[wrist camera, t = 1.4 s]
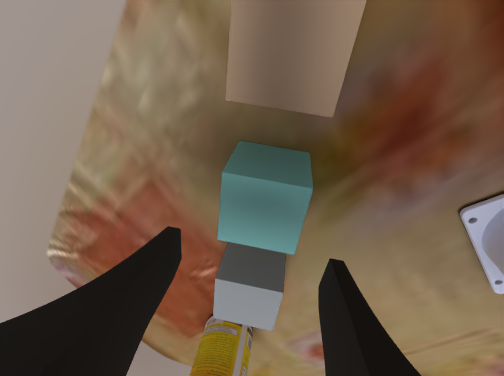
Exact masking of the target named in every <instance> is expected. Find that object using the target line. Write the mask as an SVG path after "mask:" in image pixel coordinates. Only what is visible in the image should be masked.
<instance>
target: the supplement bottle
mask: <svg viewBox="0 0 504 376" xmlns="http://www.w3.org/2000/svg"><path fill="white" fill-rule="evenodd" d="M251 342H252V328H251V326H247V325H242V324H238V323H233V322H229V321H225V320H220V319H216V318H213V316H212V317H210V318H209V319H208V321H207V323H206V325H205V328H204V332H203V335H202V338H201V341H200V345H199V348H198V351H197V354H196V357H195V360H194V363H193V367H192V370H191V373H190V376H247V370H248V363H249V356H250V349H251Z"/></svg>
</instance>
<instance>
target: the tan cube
mask: <svg viewBox="0 0 504 376" xmlns="http://www.w3.org/2000/svg"><path fill="white" fill-rule="evenodd" d="M366 1H367V0H232V3H231V19H230V35H229V51H228V67H227V82H226V98H225V100H227V101H234V102H240V103H246V104H252V105H258V106H264V107H270V108H276V109H283V110H289V111H295V112H301V113H307V114H313V115H319V116H326V117H332V118H333V115H334V111H335V108H336V104H337V101H338V98H339V94H340V91H341V87H342V84H343V80H344V77H345V73H346V70H347V67H348V63H349V60H350V56H351V53H352V49H353V46H354V42H355V39H356V36H357V32H358V29H359V25H360V22H361V18H362V15H363V11H364V8H365V5H366Z"/></svg>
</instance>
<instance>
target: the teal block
mask: <svg viewBox="0 0 504 376" xmlns="http://www.w3.org/2000/svg"><path fill="white" fill-rule="evenodd" d="M312 192H313V179H312V170H311V160H310V153H309V152H303V151H298V150H292V149H286V148H280V147H275V146H269V145H263V144H257V143H251V142H246V141H240V140H239V142H238V144H237V146H236V148H235V149H234V151H233V153H232V155H231V157H230V159H229V160H228V162H227V164H226V166H225V168H224V170H223V171H222V181H221V196H220V211H219V226H218V240H222V241H227V242H232V243H237V244H242V245H247V246H252V247H257V248H262V249H267V250H272V251H277V252H282V253H287V254H292V255H294V253H295V250H296V247H297V243H298V240H299V236H300V233H301V230H302V226H303V223H304V219H305V216H306V212H307V209H308V206H309V202H310V199H311V195H312Z"/></svg>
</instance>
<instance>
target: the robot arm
mask: <svg viewBox="0 0 504 376" xmlns="http://www.w3.org/2000/svg"><path fill="white" fill-rule="evenodd" d="M460 217H461V219H462V221H463V224H464V226H465V228H466V231H467V233H468V235H469V237H470V240H471V242H472V244H473V247H474V249H475V251H476V253H477V256H478V258H479V260H480V263H481V265H482V267H483V269H484V272H485V274H486V276H487V279H488V281H489V283H490V285H491V288H492V289H493V290H494V292H495V293H498V294H502V293H504V194H502V195H499V196H496V197H494V198H491V199H488V200H485V201H482V202H480V203H477V204H474V205H471V206H469V207H466V208H464V209H462V210H461V211H460ZM471 218H473V219H471ZM469 219H471V220H469ZM181 259H182V256H181V230H180V229H179V228H174V227H169V226H168V227H167V228H165V229H164V230H163V231H162V232H160V233H159V234H158V235H157V236H155V237H154V238H153V239H152V240H150V241H149V242H148V243H147V244H145V245H144V246H143V247H141V248H140V249H139V250H137V251H136V252H135V253H133V254H132V255H131V256H129V257H128V258H126V259H125V260H123V261H122V262H121V263H119V264H118V265H116V266H115V267H113V268H112V269H110V270H109V271H107V272H106V273H104V274H102V275H101V276H99V277H97V278H96V279H94V280H92V281H91V282H89V283H87V284H85V285H83V286H82V287H80V288H78V289H76V290H74V291H72V292H70V293H68V294H66V295H64V296H62V297H61V298H58V299H56V300H54V301H52V302H50V303H48V304H46V305H43V306H41V307H39V308H37V309H34V310H32V311H30V312H27V313H25V314H23V315H20V316H18V317H15V318H13V319H10V320H8V321H5V322H2V323H0V376H126V374H127V372H128V370H129V367H130V365H131V362H132V360H133V358H134V355H135V353H136V351H137V348H138V346H139V343H140V341H141V339H142V337H143V335H144V332H145V330H146V328H147V326H148V324H149V322H150V320H151V318H152V317H153V315H154V313H155V311H156V309H157V308H158V306H159V304H160V302H161V300H162V299H163V297H164V295H165V293H166V291H167V289H168V288H169V286H170V284H171V282H172V280H173V278H174V276H175V274H176V271H177V269H178V266H179V264H180V261H181ZM319 317H320V325H321V334H322V342H323V350H324V359H325V371H326V376H421V375H420V374H419V372H418V371H417V370H416V369H415V368H414V367H413V366H412V364H411V363H410V362H409V361H408V360H407V358H406V357H405V356H404V355H403V353H402V352H401V351H400V350H399V348H398V347H397V346H396V344H395V343H394V342H393V340H392V339H391V338H390V336H389V335H388V334H387V332H386V331H385V329H384V328H383V326H382V325H381V323H380V322H379V320H378V319H377V317H376V316H375V314H374V313H373V311H372V310H371V308H370V307H369V305H368V303H367V302H366V300H365V298H364V297H363V295H362V293H361V292H360V290H359V288H358V286H357V285H356V283H355V281H354V279H353V278H352V276H351V274H350V272H349V270H348V268H347V267H346V265H345V263H344V261H341V260H336V259H331V258H330V259H329V262H328V264H327V267H326V269H325V272H324V274H323V277H322V279H321V282H320V284H319Z"/></svg>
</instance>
